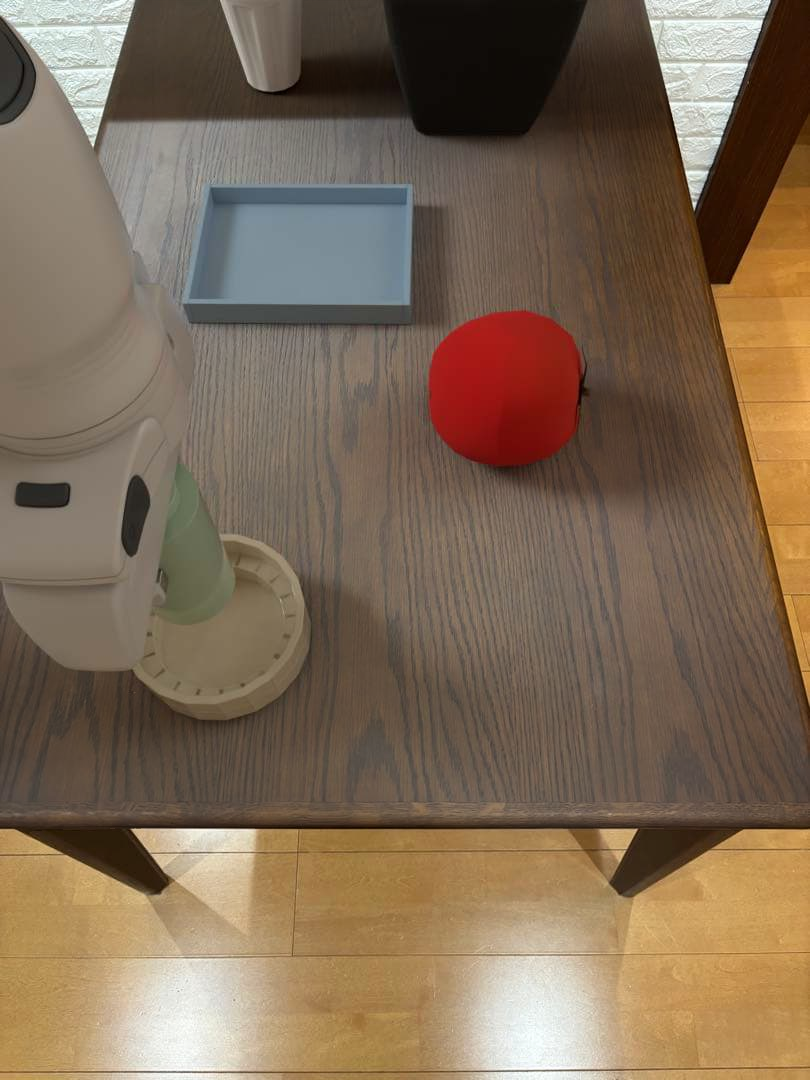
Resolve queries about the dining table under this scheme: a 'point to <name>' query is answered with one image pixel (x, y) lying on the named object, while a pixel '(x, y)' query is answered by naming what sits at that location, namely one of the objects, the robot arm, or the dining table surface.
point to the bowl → (233, 641)
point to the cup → (267, 40)
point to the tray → (302, 254)
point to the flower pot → (479, 60)
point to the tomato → (507, 388)
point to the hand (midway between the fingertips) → (163, 537)
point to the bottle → (192, 558)
